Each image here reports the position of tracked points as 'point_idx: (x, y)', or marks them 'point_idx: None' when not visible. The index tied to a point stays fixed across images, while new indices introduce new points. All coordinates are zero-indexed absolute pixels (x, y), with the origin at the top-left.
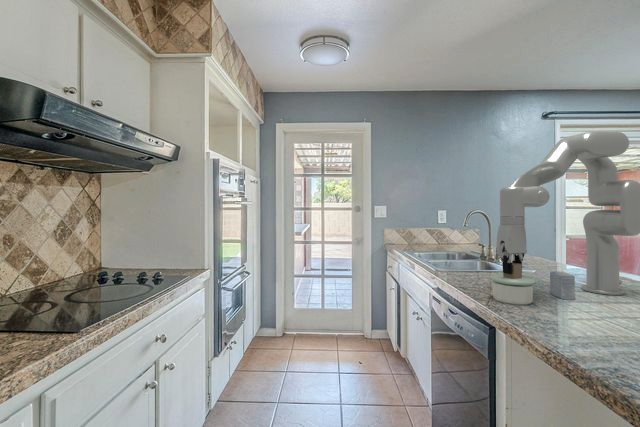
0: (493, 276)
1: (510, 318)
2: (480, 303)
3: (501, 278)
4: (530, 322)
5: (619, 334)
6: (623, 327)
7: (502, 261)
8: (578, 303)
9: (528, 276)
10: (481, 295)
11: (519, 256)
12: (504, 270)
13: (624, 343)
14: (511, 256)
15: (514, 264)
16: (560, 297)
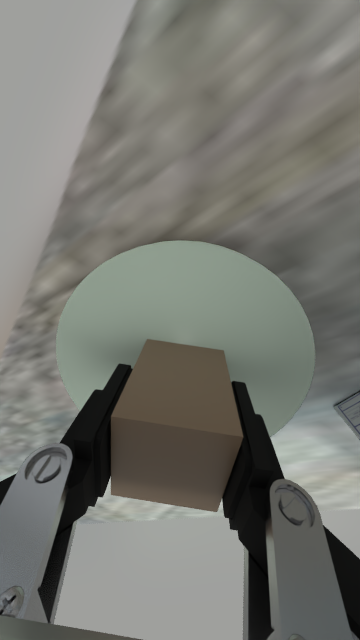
0: (100, 293)
1: (8, 397)
2: (31, 280)
3: (92, 353)
4: (30, 428)
5: (122, 511)
6: (169, 510)
7: (41, 454)
8: (311, 441)
9: (291, 412)
10: (136, 204)
11: (245, 615)
12: (95, 394)
13: (85, 517)
14: (53, 611)
15: (129, 492)
16: (341, 405)
